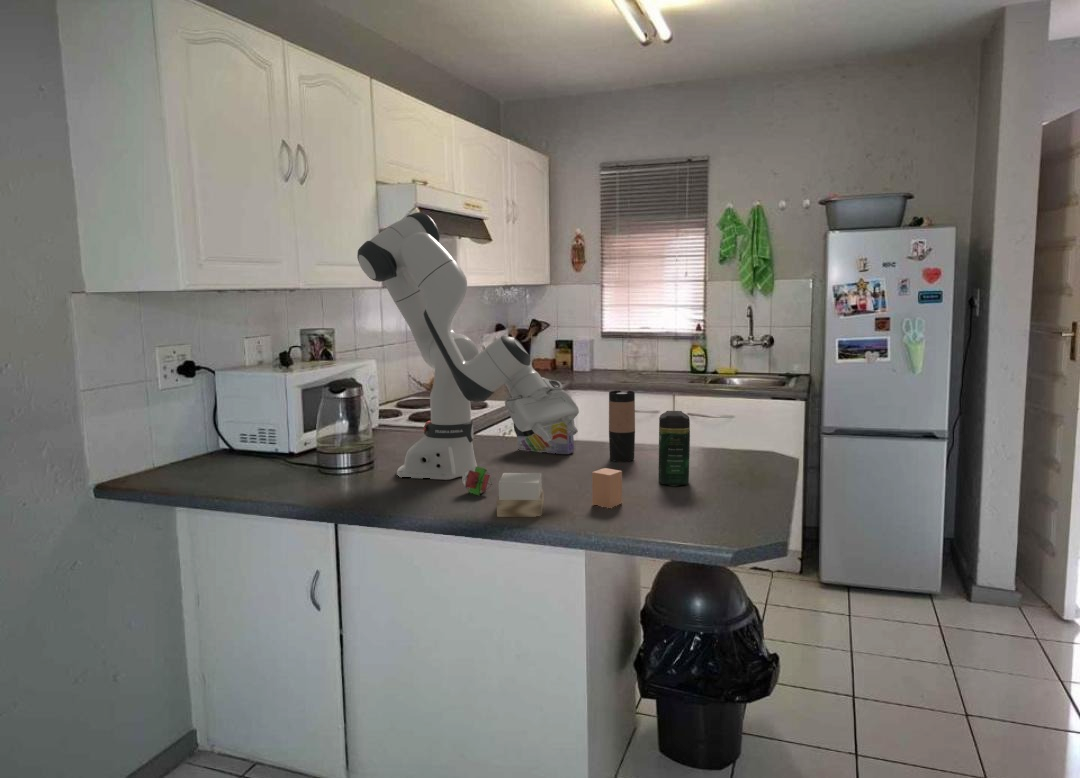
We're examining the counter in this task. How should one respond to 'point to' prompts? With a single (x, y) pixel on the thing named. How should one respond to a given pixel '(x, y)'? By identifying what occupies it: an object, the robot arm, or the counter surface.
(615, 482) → the pillar
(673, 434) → the coffee jar
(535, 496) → the tower top
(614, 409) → the travel mug
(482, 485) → the geometric puzzle
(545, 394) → the robot arm
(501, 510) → the tower base
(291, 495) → the counter surface
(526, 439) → the cake pan box
